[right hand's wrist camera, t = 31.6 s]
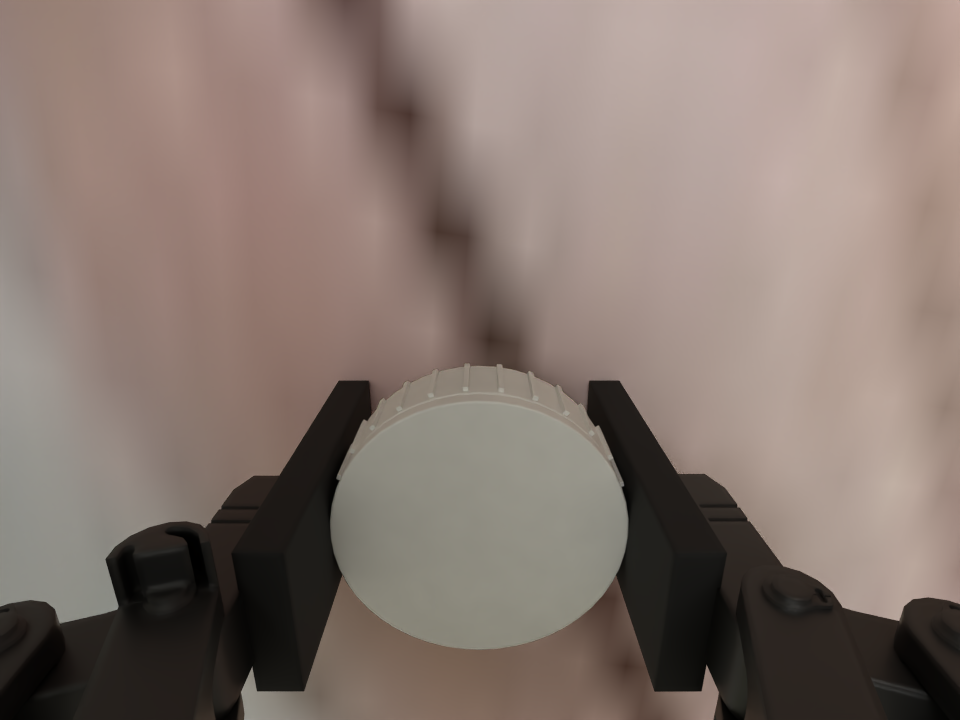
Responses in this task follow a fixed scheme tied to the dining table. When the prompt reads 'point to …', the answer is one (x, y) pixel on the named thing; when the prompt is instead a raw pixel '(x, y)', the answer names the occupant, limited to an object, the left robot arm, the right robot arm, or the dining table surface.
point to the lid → (479, 509)
